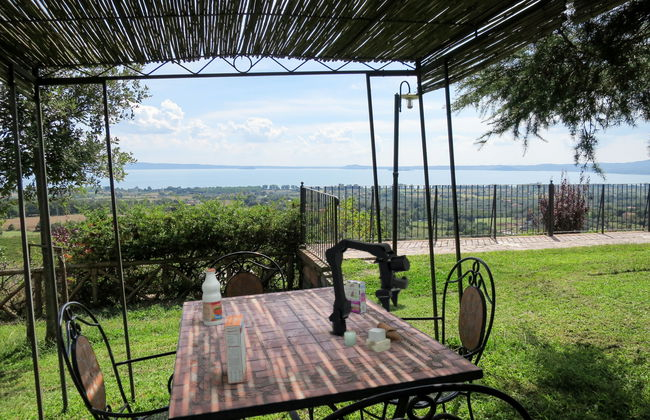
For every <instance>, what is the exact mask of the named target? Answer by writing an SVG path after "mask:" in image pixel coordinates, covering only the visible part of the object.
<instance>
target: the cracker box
mask: <svg viewBox="0 0 650 420" xmlns="http://www.w3.org/2000/svg"><path fill="white" fill-rule="evenodd" d="M223 328H224V340H225V341H224V342H225V355H226V356H225V357H226V370H227V371H226V372H227V373H226V374H227V383H228V385H230V384H240V383H241V384H242V383H245V378H246V374H247V368H248V367H247V366H248V365H247V350H246V335H245V318H244V314H230V315H228V316H227V320H226V322H225V325H224V327H223Z"/></svg>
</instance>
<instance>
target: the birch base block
mask: <svg viewBox="0 0 650 420" xmlns="http://www.w3.org/2000/svg"><path fill="white" fill-rule="evenodd" d="M365 341H366V342H365V344H366V349H368V350H370V351H371V352H375V353H381V352H384V351H387V350H390V349H391V346H392V345H391V343H392V342H391V341H390V339H387V338H386V339H384V340H383V341H381V342H375V341H370V340H369V338H366V339H365Z"/></svg>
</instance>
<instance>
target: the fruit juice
mask: <svg viewBox="0 0 650 420" xmlns="http://www.w3.org/2000/svg"><path fill="white" fill-rule="evenodd" d="M201 290H202V292H203V293H202V299H201V301H202V314H203V315H202V316H203V317H202V318H203V325H204V326H207V327H213V326H219V325H221V324H222V323H223V305H222V304H223V303H222V301H223V300H222V294H221V283H220V281H219V280H218V278H217V277H216V268H213V267H212V268H205V280H204V282H203V283H202V285H201Z"/></svg>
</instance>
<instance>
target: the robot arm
mask: <svg viewBox="0 0 650 420" xmlns="http://www.w3.org/2000/svg"><path fill="white" fill-rule="evenodd" d="M348 249H350V250H355V251H360V252H365V253H368V254H370V255H371V256H373V257H375V259H374V261H373V262H372V263H373V264H377V265H378V271H379V276H378V280H380V283H381V285H380V287H379V288H378V289H376V290H375V292H374V296H375V298H377V300H379V302H380V303H381V305H382V306H383V307H384V309H385V311H386V312H387V313H390V312H391V303H392V305H393V306H394V308H397V307H398V302H399V294H400V293H401V291H402V290H406V289H407V288H408V287H409V286H408V285H409V284H410V281H409V279H408V277H407V276H406V275H403V276H402V277H397V274H396V273H401V272H409V271H410V269H411V262H410V260H409V258H408V257H407V255H406V254H402V255H401V254H400V255H398V254H397V252H395V251H394V250H393V249H392V246H391V245H390V244H389V243H388V242H368V241H362V240H357V239H352V238H349V237H347V238H346V237H345V238H343V239H341V240H340V241H338V243H336V244H334V245H333V246H331V247H329V248H327V249H326V250H325V252H324V257H325V260H326V263H327V264H328V266H329V267H330V272H331V279H332V287H333V292H334V293H333V294H334V302H333V305H332V312H331V314H330V315H329V316H328V317H327V318H328V320H329V322H330V323H331V326H332V331H330V332H329V334H332V335H333V336H337V337H340V336H343V335H344V333H345V332H347V330H348V329H347V320H348V319H349V316H350V315H351V313H352V312H351V309H352V307H351V300H349V301H348V300H347V298H346V288H345V284H344V283H345V282H344V278H343V277H344V275H343V269H342V265H343V261H344V254H345V253H346V252H347V251H348ZM394 272H395V273H394ZM344 336H345V335H344Z"/></svg>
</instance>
